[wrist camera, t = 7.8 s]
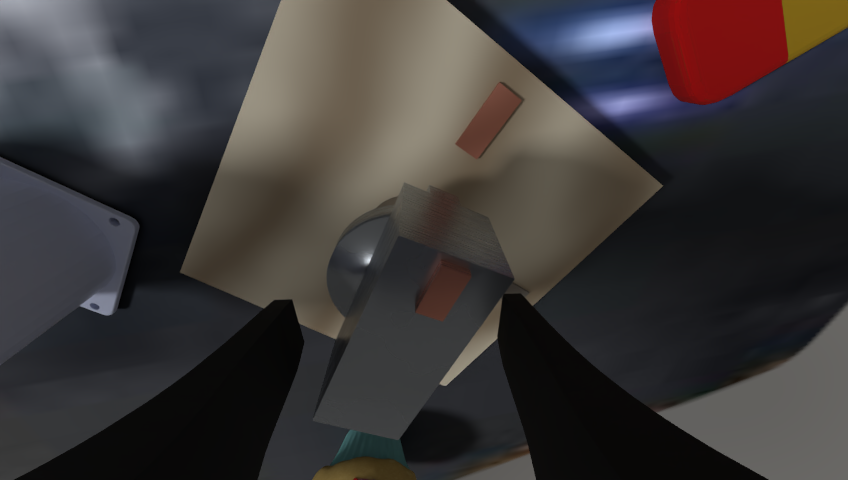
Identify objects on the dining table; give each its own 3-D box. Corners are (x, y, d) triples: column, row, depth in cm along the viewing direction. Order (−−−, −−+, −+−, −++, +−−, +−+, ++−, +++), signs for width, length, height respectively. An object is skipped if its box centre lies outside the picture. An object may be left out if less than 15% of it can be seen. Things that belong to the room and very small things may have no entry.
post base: (196, 257, 19) (139, 309, 15) (331, -90, 12) (289, -160, 8) (443, 368, 24) (448, 428, 20) (644, 175, 17) (711, 212, 13)
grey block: (429, 347, 16) (433, 457, 12) (311, 312, 15) (267, 420, 11) (513, 216, 13) (564, 303, 8) (368, 155, 11) (337, 219, 7)
